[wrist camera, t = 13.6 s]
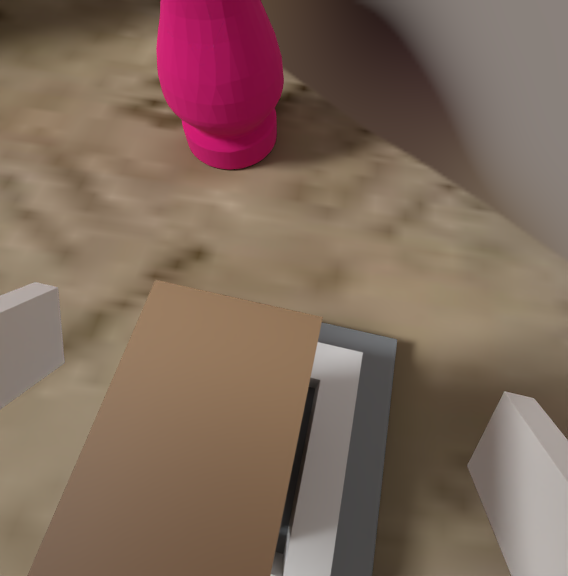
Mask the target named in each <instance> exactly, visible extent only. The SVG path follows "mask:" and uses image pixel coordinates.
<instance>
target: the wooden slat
mask: <svg viewBox="0 0 568 576" xmlns="http://www.w3.org/2000/svg"><path fill="white" fill-rule="evenodd" d="M322 318H323V317H319V316H315V315H310V314H306V313H302V312H297V311H293V310H288V309H284V308H279V307H275V306H270V305H266V304H261V303H257V302H252V301H248V300H243V299H239V298H234V297H230V296H226V295H221V294H217V293H212V292H208V291H203V290H199V289H194V288H190V287H185V286H181V285H176V284H172V283H167V282H163V281H159V280H155V282H154V284H153V286H152V289H151V291H150V293H149V296H148V298H147V300H146V303H145V305H144V307H143V310H142V312H141V314H140V316H139V319H138V321H137V323H136V326H135V328H134V330H133V333H132V335H131V337H130V340H129V342H128V344H127V347H126V349H125V351H124V353H123V356H122V358H121V360H120V363H119V365H118V367H117V370H116V372H115V374H114V377H113V379H112V381H111V384H110V386H109V388H108V390H107V393H106V395H105V397H104V400H103V402H102V404H101V407H100V409H99V411H98V414H97V416H96V418H95V421H94V423H93V425H92V427H91V430H90V432H89V434H88V437H87V439H86V441H85V444H84V446H83V448H82V451H81V453H80V455H79V458H78V460H77V462H76V464H75V467H74V469H73V471H72V474H71V476H70V478H69V481H68V483H67V485H66V488H65V490H64V492H63V495H62V497H61V499H60V501H59V504H58V506H57V508H56V511H55V513H54V515H53V518H52V520H51V522H50V525H49V527H48V529H47V532H46V534H45V536H44V538H43V541H42V543H41V545H40V548H39V550H38V552H37V555H36V557H35V559H34V562H33V564H32V566H31V569H30V571H29V573H28V575H27V576H270V575H271V570H272V565H273V560H274V555H275V550H276V545H277V540H278V535H279V530H280V525H281V521H282V516H283V511H284V506H285V501H286V496H287V491H288V486H289V481H290V476H291V471H292V466H293V461H294V456H295V451H296V446H297V442H298V437H299V432H300V427H301V422H302V417H303V412H304V407H305V402H306V397H307V392H308V387H309V382H310V377H311V372H312V368H313V363H314V358H315V353H316V348H317V343H318V338H319V333H320V328H321V323H322Z"/></svg>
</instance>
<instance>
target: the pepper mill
mask: <svg viewBox="0 0 568 576" xmlns="http://www.w3.org/2000/svg"><path fill="white" fill-rule="evenodd" d="M157 68H158V76H159V80H160V84H161V88H162V92H163V94H164V97H165V99H166V101H167V103H168V105H169V107H170V108H171V109H172V110H173V112H174V113H175V114H176V115H177V116H178V117H180V118H181V119H182V125H183V129H184V132H185V135H186V138H187V141H188V144H189V147H190V149H191V151H192V153H193V154H194V155H195V156H196V157H197V158H198V159H199V160H200V161H202V162H204V163H205V164H207V165H209V166H212V167H216V168H219V169H228V170H230V169H240V168H245V167H248V166H251V165H254V164H256V163H257V162H259V161H261V160H262V159H264V158H265V157H266V156H267V155H268V154H269V153H270V152H271V150H272V149H273V147H274V145H275V142H276V137H277V120H276V110H275V106H276V105H277V103H278V101H279V99H280V97H281V93H282V89H283V83H284V78H283V67H282V56H281V53H280V49H279V46H278V42H277V39H276V36H275V32H274V30H273V28H272V26H271V23H270V21H269V19H268V16H267V14H266V12H265V9H264V7H263V5H262V2H261V0H161V4H160V20H159V27H158V37H157Z"/></svg>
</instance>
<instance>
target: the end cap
mask: <svg viewBox="0 0 568 576" xmlns="http://www.w3.org/2000/svg"><path fill="white" fill-rule="evenodd" d="M396 346H397V339H393V338H388V337H384V336H380V335H375V334H371V333H366V332H362V331H357V330H353V329H348V328H344V327H340V326H335V325H331V324H326V323H321V328H320V333H319V338H318V343H317V348H316V353H315V358H314V363H313V368H312V372H311V377H310V382H309V387H308V392H307V397H306V402H305V407H304V412H303V417H302V422H301V427H300V432H299V437H298V442H297V446H296V451H295V456H294V461H293V466H292V471H291V476H290V481H289V486H288V491H287V496H286V501H285V506H284V511H283V516H282V521H281V525H280V530H279V535H278V540H277V545H276V550H275V555H274V560H273V565H272V570H271V575H270V576H372V571H373V562H374V553H375V543H376V534H377V524H378V515H379V506H380V496H381V487H382V477H383V468H384V459H385V449H386V440H387V431H388V421H389V412H390V402H391V393H392V384H393V374H394V365H395V355H396Z"/></svg>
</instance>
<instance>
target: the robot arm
mask: <svg viewBox="0 0 568 576" xmlns="http://www.w3.org/2000/svg"><path fill="white" fill-rule="evenodd" d="M64 363H65V361H64V350H63V338H62V327H61V315H60V304H59V293H58V287H55V286H50V285H46V284H42V283H37V282H34V283H31V284H29V285H26V286H24V287H21V288H19V289H16V290H13V291H11V292H8V293H6V294H3V295H1V296H0V409H1V408H3V407H4V406H6V405H7V404H8V403H10V402H11V401H13V400H14V399H15V398H17V397H18V396H19V395H21V394H22V393H24V392H25V391H26V390H28V389H29V388H31V387H32V386H33V385H35V384H36V383H38V382H39V381H40V380H42V379H43V378H44V377H46V376H47V375H49V374H50V373H51V372H53V371H54V370H56V369H57V368H58V367H60V366H61V365H63V364H64ZM467 467H468V469H469V472H470V474H471V477H472V479H473V482H474V484H475V487H476V489H477V492H478V494H479V497H480V499H481V502H482V504H483V507H484V509H485V511H486V514H487V516H488V519H489V521H490V524H491V526H492V529H493V531H494V534H495V536H496V539H497V541H498V544H499V546H500V549H501V551H502V554H503V556H504V559H505V561H506V564H507V566H508V568H509V571H510V573H511V576H568V440H567V439H566V437H565V436H564V435H563V434H562V432H561V431H560V430H559V429H558V427H557V426H556V425H555V424H554V422H553V421H552V420H551V419H550V417H549V416H548V415H547V414H546V412H545V411H544V410H543V409H542V407H541V406H540V405H539V404H538V402H537V401H536V400H535V399H534V398H531V397H527V396H523V395H518V394H514V393H510V392H506V391H504V393H503V395H502V397H501V399H500V401H499V403H498V405H497V407H496V409H495V411H494V413H493V415H492V417H491V419H490V421H489V423H488V425H487V427H486V429H485V431H484V433H483V435H482V437H481V439H480V441H479V443H478V445H477V447H476V449H475V451H474V453H473V455H472V457H471V459H470V461H469V463H468V465H467Z"/></svg>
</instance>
